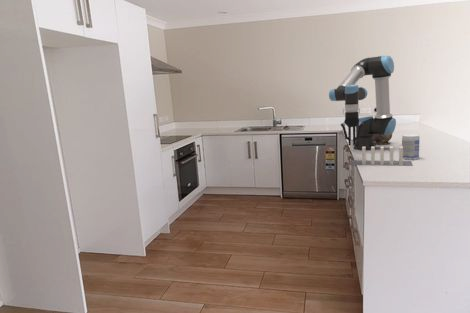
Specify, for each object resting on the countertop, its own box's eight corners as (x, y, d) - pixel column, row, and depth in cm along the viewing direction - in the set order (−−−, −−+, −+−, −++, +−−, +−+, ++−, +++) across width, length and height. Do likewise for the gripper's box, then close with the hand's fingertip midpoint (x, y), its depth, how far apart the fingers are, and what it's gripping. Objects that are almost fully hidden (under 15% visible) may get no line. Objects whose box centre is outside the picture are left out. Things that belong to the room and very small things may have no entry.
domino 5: (398, 163, 203) (399, 146, 201) (402, 163, 202) (402, 146, 200) (399, 165, 198) (399, 147, 196) (402, 165, 197) (403, 147, 195)
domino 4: (389, 163, 205) (389, 146, 203) (392, 163, 204) (393, 146, 202) (389, 165, 200) (389, 148, 198) (393, 165, 199) (393, 147, 197)
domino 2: (371, 162, 208) (371, 146, 207) (374, 162, 208) (374, 146, 206) (371, 164, 204) (371, 148, 202) (374, 164, 203) (374, 148, 201)
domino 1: (362, 162, 210) (362, 146, 209) (365, 162, 210) (365, 146, 208) (362, 164, 206) (362, 148, 204) (365, 164, 205) (365, 148, 203)
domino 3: (380, 162, 206) (380, 146, 205) (383, 163, 206) (383, 146, 204) (380, 164, 202) (380, 148, 200) (383, 164, 201) (383, 148, 199)
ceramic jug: (366, 143, 275) (366, 105, 269) (382, 141, 279) (383, 103, 273) (381, 146, 259) (381, 106, 253) (398, 144, 263) (399, 104, 257)
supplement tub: (418, 160, 207) (419, 136, 204) (401, 160, 211) (401, 136, 208) (419, 157, 215) (419, 134, 212) (402, 157, 219) (402, 134, 217)
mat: (351, 160, 219) (351, 160, 219) (411, 161, 206) (411, 161, 206) (349, 165, 207) (349, 164, 207) (412, 166, 194) (412, 165, 194)
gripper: (339, 112, 204) (340, 151, 208) (363, 111, 198) (363, 151, 203) (341, 111, 210) (341, 149, 215) (363, 110, 205) (363, 149, 210)
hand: (352, 150), depth 209 cm, fingers closed
